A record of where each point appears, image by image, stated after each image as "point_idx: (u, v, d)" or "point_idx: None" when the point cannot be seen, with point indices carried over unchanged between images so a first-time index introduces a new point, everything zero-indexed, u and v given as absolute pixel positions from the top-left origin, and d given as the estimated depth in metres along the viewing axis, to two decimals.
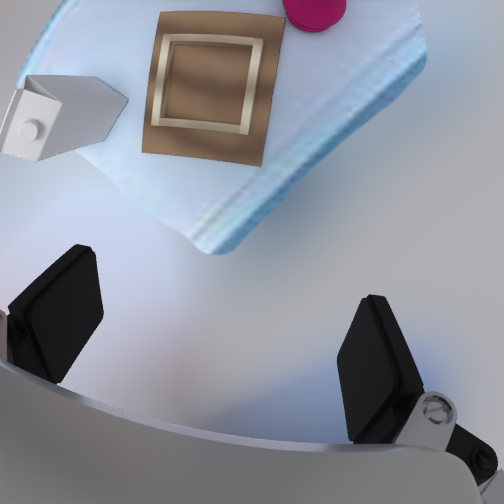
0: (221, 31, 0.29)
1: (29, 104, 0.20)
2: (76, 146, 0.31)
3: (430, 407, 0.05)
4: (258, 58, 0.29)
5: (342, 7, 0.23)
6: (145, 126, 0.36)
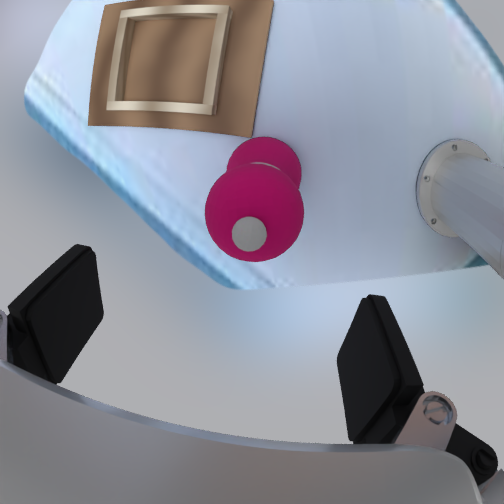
0: (232, 67, 0.27)
1: None
2: None
3: (430, 407, 0.05)
4: (186, 111, 0.27)
5: None
6: (129, 3, 0.23)
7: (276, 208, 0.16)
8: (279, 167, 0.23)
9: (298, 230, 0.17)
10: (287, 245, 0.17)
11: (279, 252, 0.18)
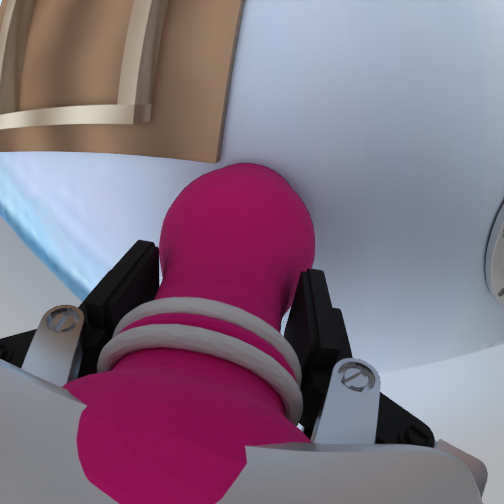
0: (180, 30, 0.12)
1: None
2: None
3: (348, 375, 0.06)
4: (91, 120, 0.13)
5: None
6: None
7: None
8: (266, 268, 0.09)
9: None
10: None
11: None
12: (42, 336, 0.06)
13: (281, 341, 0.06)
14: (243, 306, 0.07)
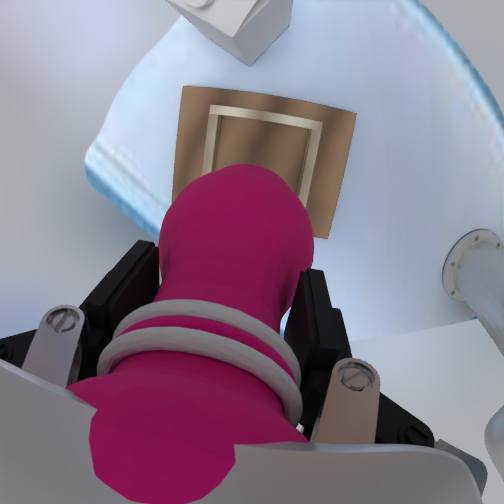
0: (317, 178, 0.34)
1: None
2: (189, 21, 0.22)
3: (347, 375, 0.06)
4: None
5: None
6: (212, 90, 0.30)
7: None
8: (265, 269, 0.09)
9: None
10: None
11: None
12: (42, 336, 0.06)
13: (280, 343, 0.06)
14: (243, 308, 0.07)
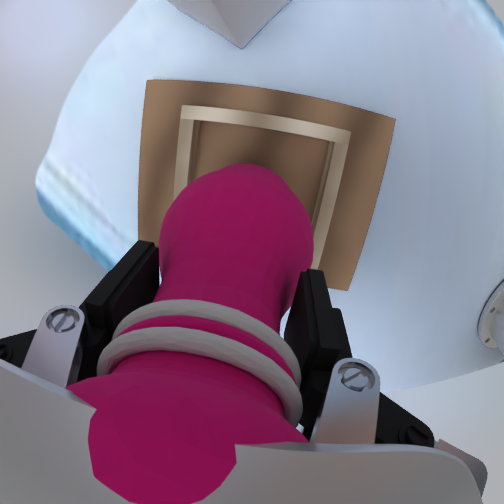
0: (339, 211, 0.24)
1: None
2: None
3: (347, 375, 0.06)
4: None
5: None
6: (188, 84, 0.20)
7: None
8: (265, 269, 0.09)
9: None
10: None
11: None
12: (42, 336, 0.06)
13: (280, 343, 0.06)
14: (243, 308, 0.07)
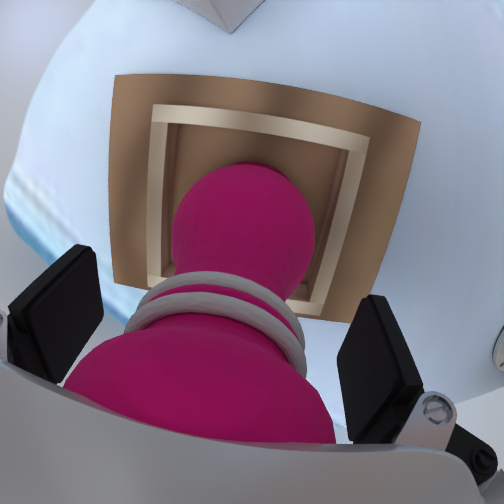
0: (350, 234, 0.20)
1: None
2: None
3: (430, 407, 0.05)
4: None
5: None
6: (163, 78, 0.16)
7: None
8: (271, 252, 0.10)
9: None
10: None
11: None
12: None
13: (287, 309, 0.07)
14: (253, 282, 0.08)
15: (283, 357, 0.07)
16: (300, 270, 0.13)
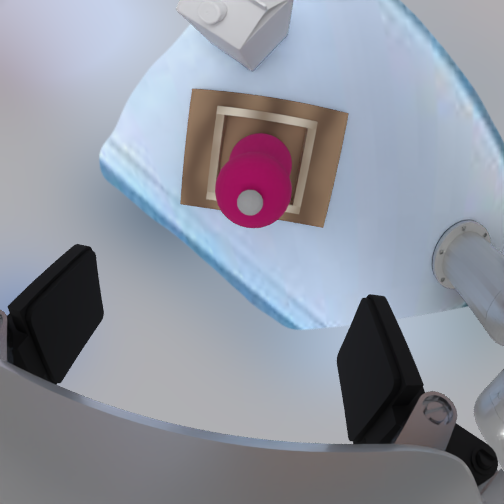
0: (313, 172, 0.38)
1: (245, 13, 0.17)
2: (199, 31, 0.25)
3: (430, 407, 0.05)
4: None
5: None
6: (219, 93, 0.34)
7: (270, 184, 0.21)
8: (273, 157, 0.28)
9: (287, 202, 0.23)
10: (279, 213, 0.22)
11: (272, 219, 0.23)
12: None
13: None
14: None
15: None
16: None
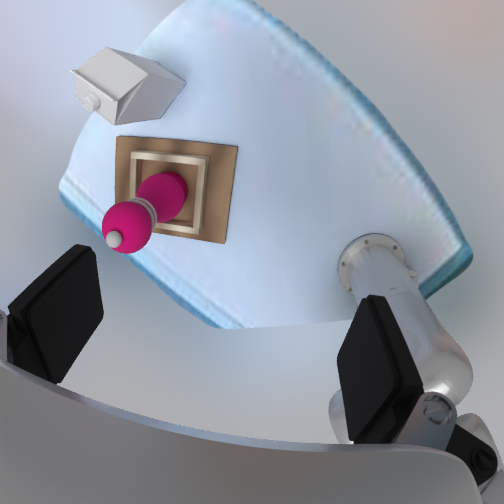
0: (211, 199, 0.47)
1: (108, 102, 0.26)
2: None
3: (430, 407, 0.05)
4: (183, 231, 0.47)
5: None
6: (135, 139, 0.43)
7: (127, 226, 0.30)
8: (156, 197, 0.38)
9: (143, 236, 0.32)
10: (138, 244, 0.31)
11: (135, 248, 0.32)
12: None
13: (150, 204, 0.35)
14: (146, 201, 0.35)
15: (147, 212, 0.34)
16: (171, 205, 0.40)
